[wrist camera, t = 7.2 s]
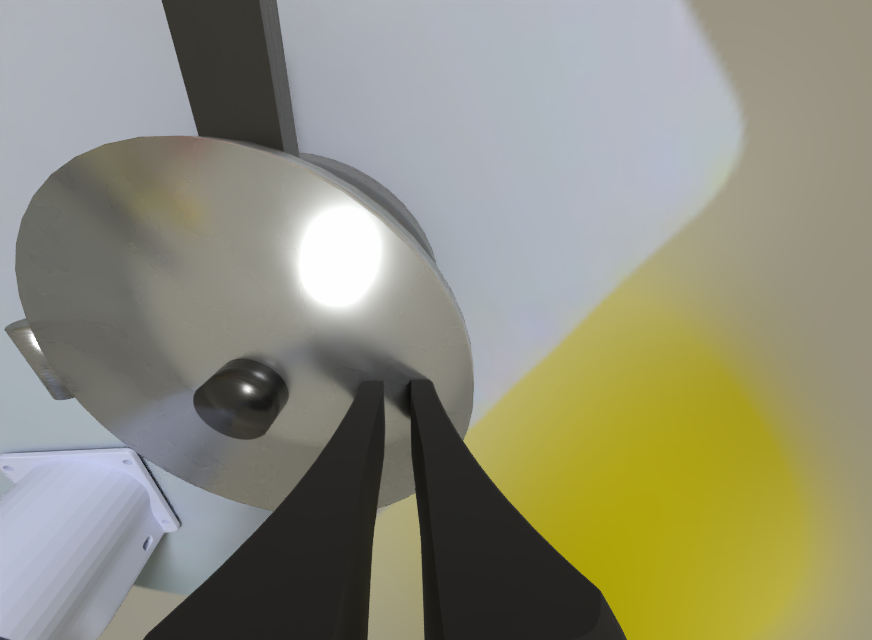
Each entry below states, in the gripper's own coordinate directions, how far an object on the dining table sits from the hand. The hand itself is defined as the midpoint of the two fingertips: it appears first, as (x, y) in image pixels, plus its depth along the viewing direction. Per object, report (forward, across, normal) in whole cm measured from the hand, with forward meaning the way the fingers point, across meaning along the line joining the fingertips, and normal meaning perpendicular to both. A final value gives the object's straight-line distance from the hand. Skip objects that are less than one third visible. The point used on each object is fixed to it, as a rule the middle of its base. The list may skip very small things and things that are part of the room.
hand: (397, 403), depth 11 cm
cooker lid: (+2, +5, 0) cm, 6 cm away
